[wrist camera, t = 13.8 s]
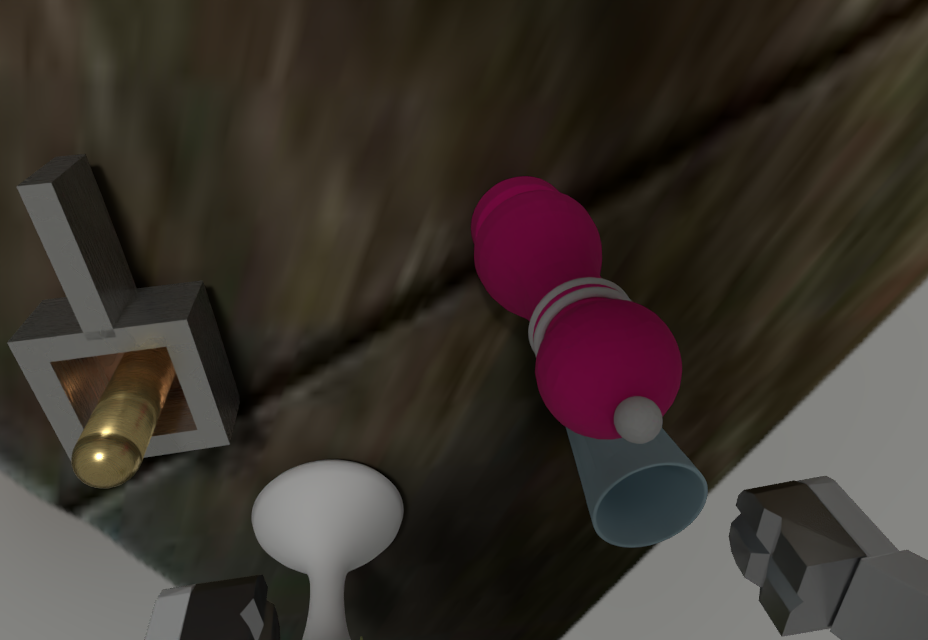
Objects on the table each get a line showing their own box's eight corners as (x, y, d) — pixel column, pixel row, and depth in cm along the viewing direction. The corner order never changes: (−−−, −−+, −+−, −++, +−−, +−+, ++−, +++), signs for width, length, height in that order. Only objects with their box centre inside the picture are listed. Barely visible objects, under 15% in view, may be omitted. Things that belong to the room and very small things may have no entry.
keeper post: (65, 307, 38) (-28, 430, 28) (202, 290, 38) (156, 404, 29) (112, 409, 42) (45, 545, 33) (234, 392, 43) (203, 520, 33)
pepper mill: (472, 284, 41) (559, 524, 24) (453, 181, 37) (541, 381, 21) (578, 260, 42) (735, 480, 25) (569, 155, 38) (749, 331, 21)
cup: (561, 361, 46) (612, 463, 37) (656, 366, 48) (726, 463, 39) (538, 440, 50) (579, 548, 41) (626, 441, 51) (684, 546, 43)
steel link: (-23, 164, 32) (-73, 195, 28) (160, 146, 33) (136, 173, 29) (99, 418, 41) (74, 467, 37) (240, 398, 42) (229, 444, 38)
